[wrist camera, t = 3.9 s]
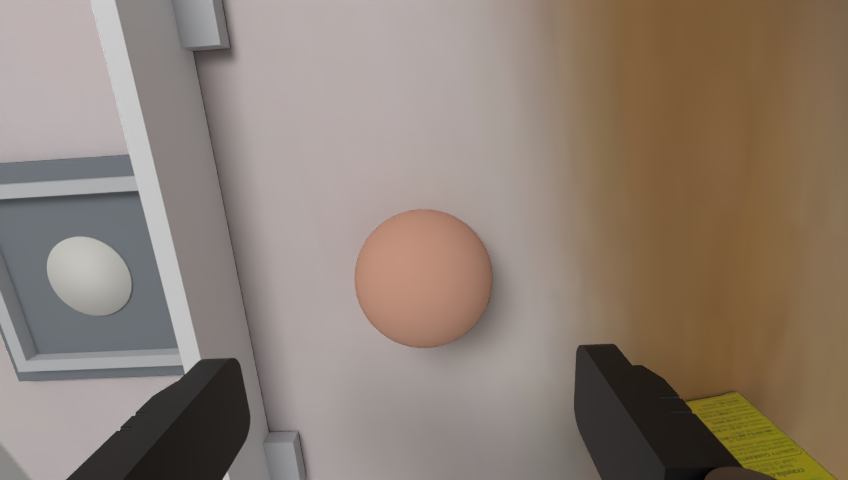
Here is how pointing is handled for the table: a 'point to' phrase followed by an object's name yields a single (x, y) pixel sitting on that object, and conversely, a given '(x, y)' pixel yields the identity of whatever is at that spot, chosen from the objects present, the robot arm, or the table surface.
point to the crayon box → (756, 439)
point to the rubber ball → (423, 278)
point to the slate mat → (80, 273)
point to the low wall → (187, 197)
